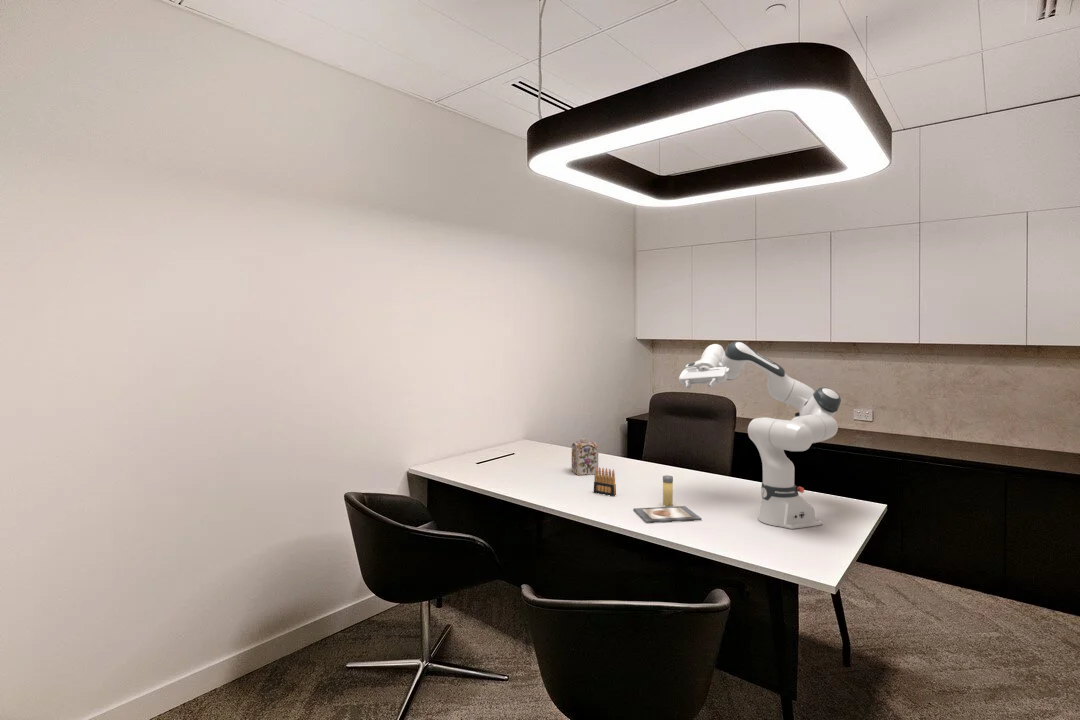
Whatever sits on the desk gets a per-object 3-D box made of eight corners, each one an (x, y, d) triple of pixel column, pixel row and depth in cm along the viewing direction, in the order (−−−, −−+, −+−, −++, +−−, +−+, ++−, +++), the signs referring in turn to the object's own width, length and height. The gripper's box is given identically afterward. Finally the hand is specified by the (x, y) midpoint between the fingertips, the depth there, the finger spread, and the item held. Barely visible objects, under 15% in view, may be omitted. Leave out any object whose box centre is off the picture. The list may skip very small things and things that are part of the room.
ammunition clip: (616, 495, 246) (616, 469, 245) (614, 496, 244) (614, 469, 244) (595, 491, 252) (595, 465, 252) (593, 492, 251) (593, 466, 250)
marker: (670, 503, 234) (670, 475, 233) (674, 506, 230) (674, 477, 229) (661, 503, 233) (661, 475, 233) (664, 506, 229) (664, 478, 229)
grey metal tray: (684, 507, 227) (684, 505, 227) (701, 520, 211) (701, 517, 211) (633, 510, 224) (633, 507, 224) (646, 523, 208) (646, 520, 208)
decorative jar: (576, 475, 282) (576, 441, 281) (570, 470, 293) (570, 437, 293) (599, 474, 284) (599, 440, 284) (592, 469, 296) (592, 436, 295)
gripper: (732, 373, 235) (725, 392, 225) (686, 376, 247) (678, 394, 238) (728, 360, 232) (721, 379, 223) (682, 365, 245) (673, 382, 235)
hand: (698, 387), depth 230 cm, fingers open, 8 cm apart
